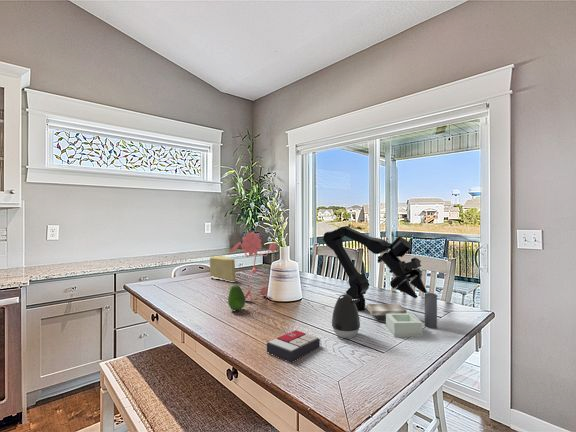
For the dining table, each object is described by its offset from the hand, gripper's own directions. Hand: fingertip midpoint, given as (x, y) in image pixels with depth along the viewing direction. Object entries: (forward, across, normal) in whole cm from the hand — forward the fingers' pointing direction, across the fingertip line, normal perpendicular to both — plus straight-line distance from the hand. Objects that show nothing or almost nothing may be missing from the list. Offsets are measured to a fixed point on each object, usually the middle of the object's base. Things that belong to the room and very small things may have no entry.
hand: (421, 295), depth 126 cm
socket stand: (+6, -11, +10) cm, 16 cm away
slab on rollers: (-2, -2, +18) cm, 18 cm away
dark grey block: (+11, 0, +6) cm, 12 cm away
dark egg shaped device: (-3, -29, +20) cm, 35 cm away
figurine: (-48, -21, +64) cm, 83 cm away
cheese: (-80, -7, +96) cm, 125 cm away
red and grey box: (-7, -50, +25) cm, 56 cm away
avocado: (-41, -38, +57) cm, 80 cm away
